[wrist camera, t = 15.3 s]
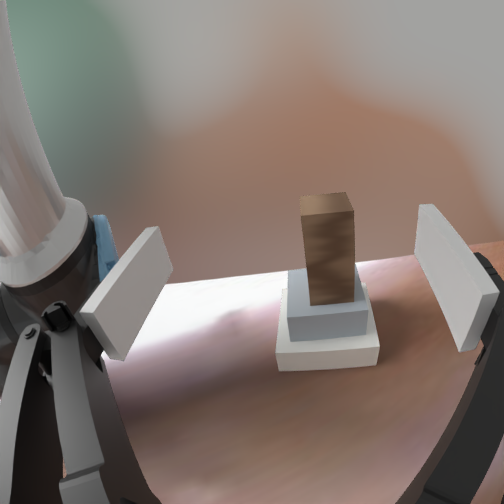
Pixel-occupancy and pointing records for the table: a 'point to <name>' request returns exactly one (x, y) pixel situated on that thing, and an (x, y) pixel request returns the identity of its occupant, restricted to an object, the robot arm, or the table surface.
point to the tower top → (323, 312)
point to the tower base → (326, 346)
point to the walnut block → (329, 247)
